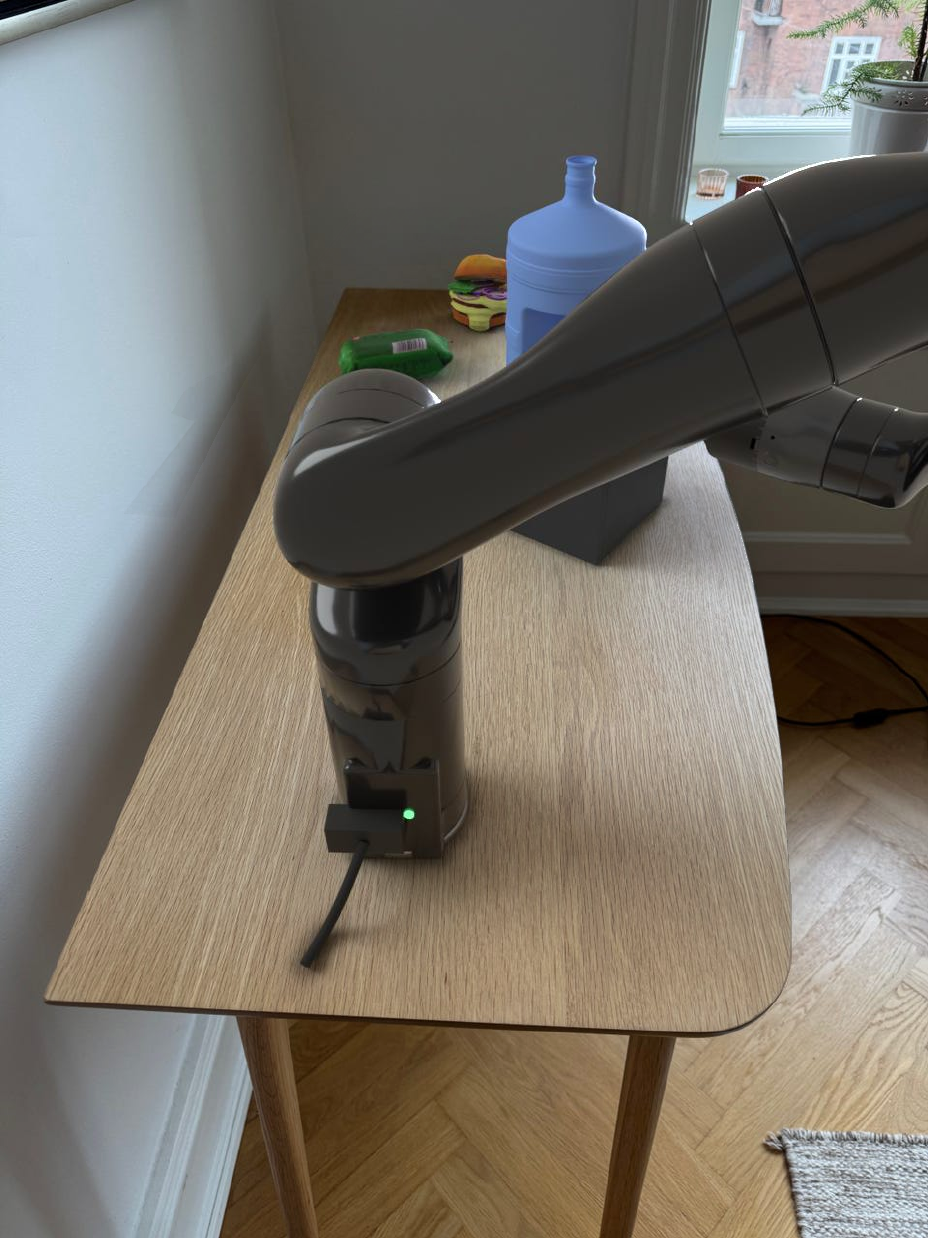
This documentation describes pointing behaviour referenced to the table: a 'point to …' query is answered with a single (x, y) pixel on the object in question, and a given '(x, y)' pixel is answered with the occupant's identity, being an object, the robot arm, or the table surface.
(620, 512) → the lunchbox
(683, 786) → the table surface
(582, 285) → the water jug
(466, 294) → the cheeseburger
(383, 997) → the table surface
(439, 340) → the snack package
